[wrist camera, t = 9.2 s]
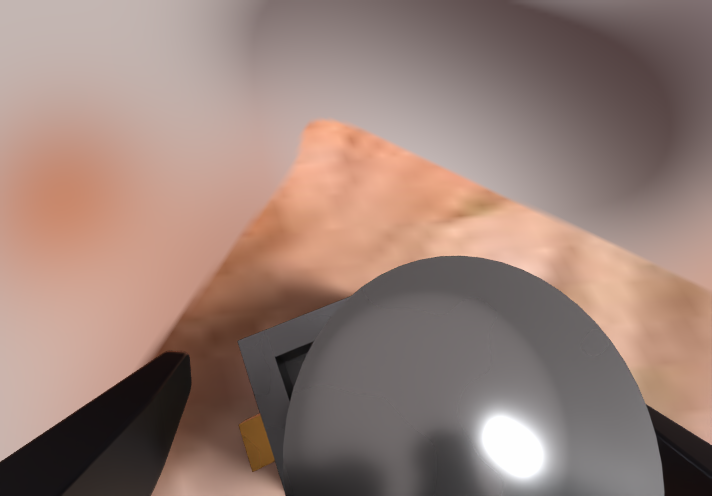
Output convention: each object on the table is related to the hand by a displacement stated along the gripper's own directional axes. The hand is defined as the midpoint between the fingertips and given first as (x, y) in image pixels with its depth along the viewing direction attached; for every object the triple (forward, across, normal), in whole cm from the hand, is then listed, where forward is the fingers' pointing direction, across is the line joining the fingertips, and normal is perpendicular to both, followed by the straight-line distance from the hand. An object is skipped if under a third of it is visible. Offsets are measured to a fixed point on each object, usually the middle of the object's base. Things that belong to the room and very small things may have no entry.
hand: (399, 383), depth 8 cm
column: (+5, 0, +6) cm, 8 cm away
